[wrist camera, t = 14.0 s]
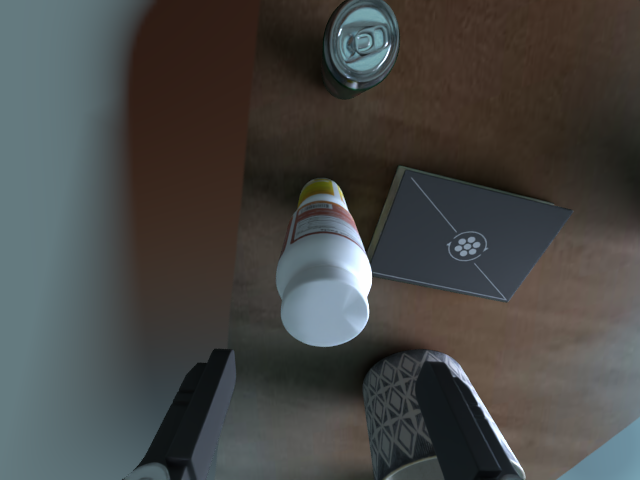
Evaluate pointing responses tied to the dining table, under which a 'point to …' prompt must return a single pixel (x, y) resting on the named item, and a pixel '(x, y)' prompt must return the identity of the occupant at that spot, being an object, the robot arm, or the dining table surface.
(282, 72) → the dining table surface
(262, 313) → the dining table surface
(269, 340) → the dining table surface
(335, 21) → the soda can
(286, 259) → the pill bottle
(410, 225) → the book
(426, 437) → the planter
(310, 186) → the supplement bottle
